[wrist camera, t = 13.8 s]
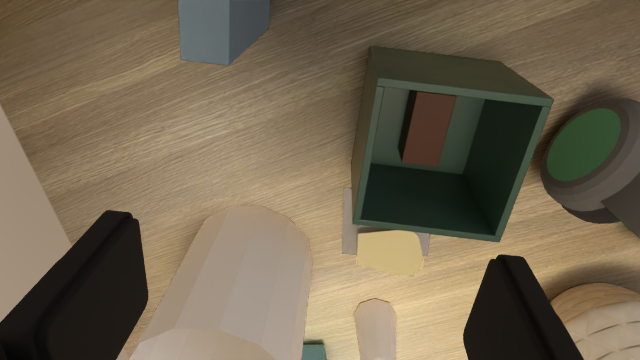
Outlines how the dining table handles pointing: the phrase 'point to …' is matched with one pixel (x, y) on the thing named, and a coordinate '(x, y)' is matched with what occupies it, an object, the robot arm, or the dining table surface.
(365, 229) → the stacked layers on plate
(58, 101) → the dining table surface
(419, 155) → the reddish brown block
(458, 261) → the dining table surface
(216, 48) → the grey-blue rectangular block
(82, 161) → the dining table surface
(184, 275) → the container
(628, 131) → the headphones
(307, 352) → the teal box
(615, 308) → the vase
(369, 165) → the bin
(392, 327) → the pepper shaker
